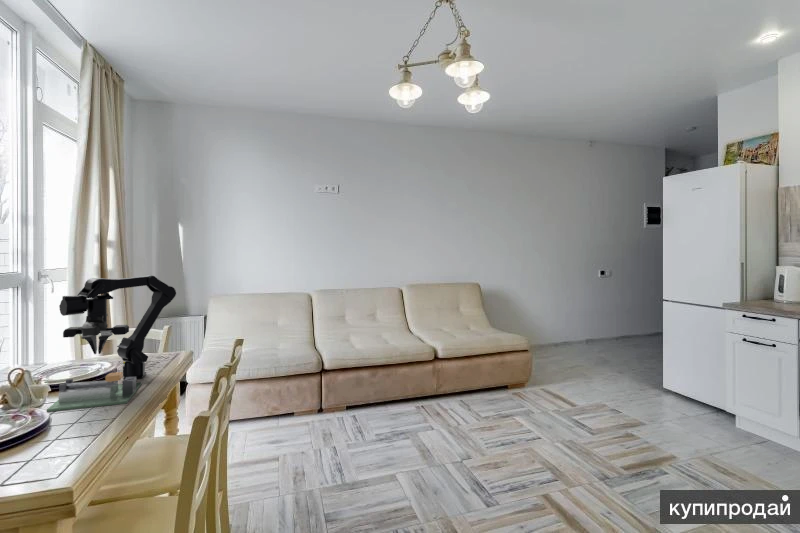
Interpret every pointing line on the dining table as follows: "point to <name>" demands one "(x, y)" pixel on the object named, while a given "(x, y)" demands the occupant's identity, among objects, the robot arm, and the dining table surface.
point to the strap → (90, 384)
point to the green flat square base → (94, 395)
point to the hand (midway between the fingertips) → (97, 353)
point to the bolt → (114, 376)
